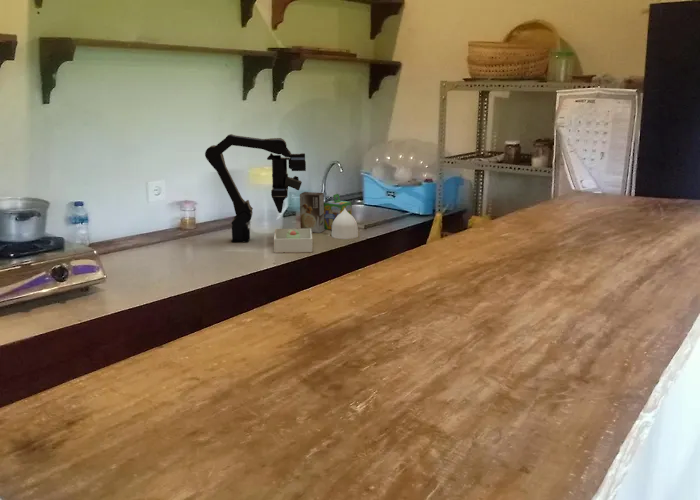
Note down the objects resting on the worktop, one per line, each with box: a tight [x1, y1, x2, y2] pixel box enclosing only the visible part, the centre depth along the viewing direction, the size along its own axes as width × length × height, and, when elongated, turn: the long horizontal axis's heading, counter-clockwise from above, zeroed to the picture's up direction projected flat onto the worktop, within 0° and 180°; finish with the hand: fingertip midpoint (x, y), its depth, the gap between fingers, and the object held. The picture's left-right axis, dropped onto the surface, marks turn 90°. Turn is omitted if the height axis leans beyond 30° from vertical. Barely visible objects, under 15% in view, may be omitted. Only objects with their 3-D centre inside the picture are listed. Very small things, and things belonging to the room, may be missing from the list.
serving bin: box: [273, 228, 313, 254], centre depth 261 cm, size 14×17×5 cm
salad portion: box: [286, 230, 300, 239], centre depth 260 cm, size 5×5×6 cm
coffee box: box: [299, 191, 326, 234], centre depth 286 cm, size 9×6×16 cm
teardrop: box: [331, 208, 359, 240], centre depth 278 cm, size 11×11×12 cm
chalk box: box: [324, 193, 352, 231], centre depth 291 cm, size 9×9×15 cm
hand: (280, 210), depth 268 cm, fingers open, 9 cm apart
